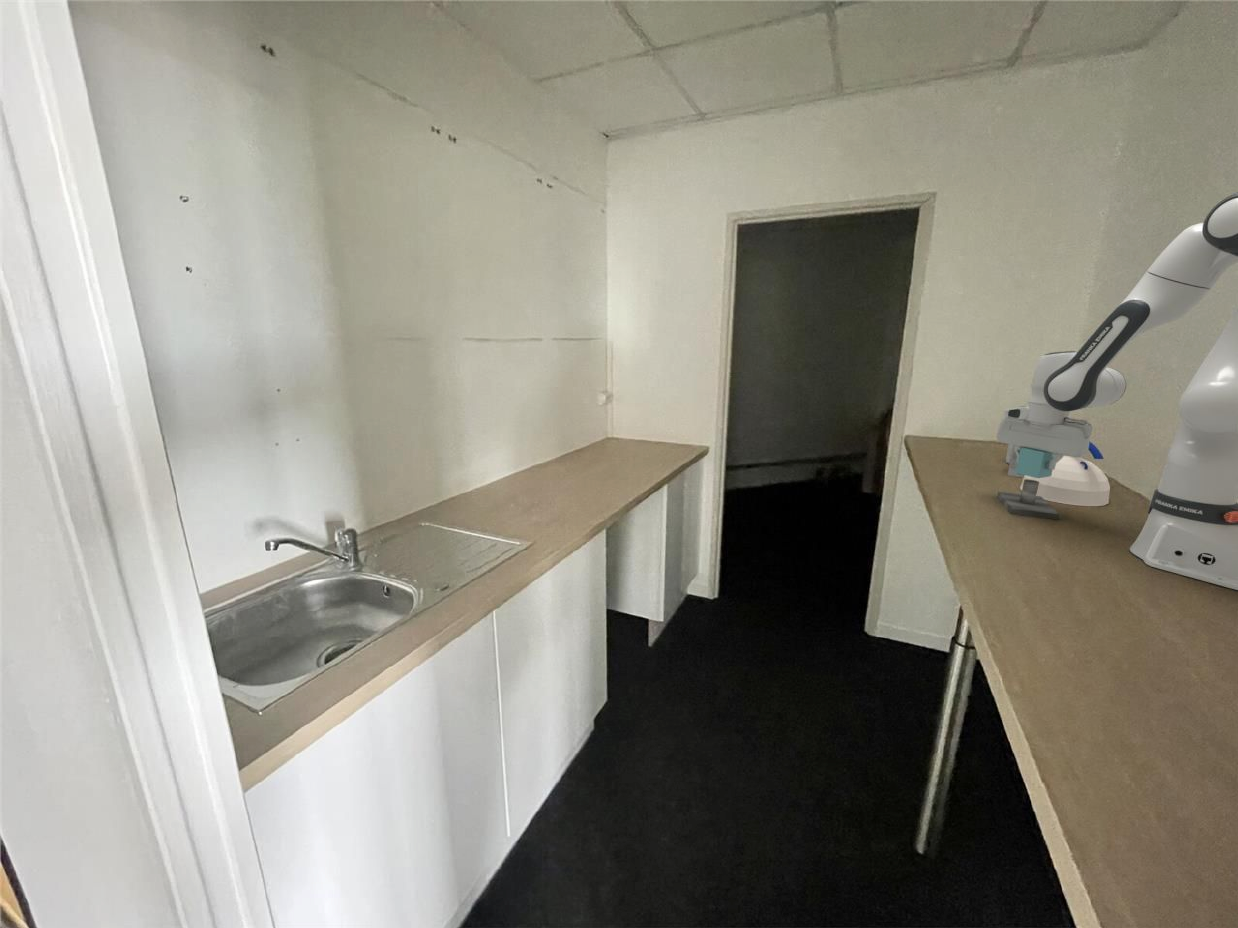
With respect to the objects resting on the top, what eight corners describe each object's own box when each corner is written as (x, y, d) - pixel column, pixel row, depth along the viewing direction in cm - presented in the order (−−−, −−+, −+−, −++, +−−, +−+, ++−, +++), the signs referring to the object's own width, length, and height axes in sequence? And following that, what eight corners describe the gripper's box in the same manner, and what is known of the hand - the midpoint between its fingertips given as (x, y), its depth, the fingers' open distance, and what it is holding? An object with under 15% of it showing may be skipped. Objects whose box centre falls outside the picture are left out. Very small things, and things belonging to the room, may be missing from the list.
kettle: (1073, 486, 162) (1087, 429, 157) (1129, 508, 142) (1147, 444, 138) (1003, 483, 164) (1015, 427, 159) (1049, 505, 144) (1064, 442, 139)
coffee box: (1007, 469, 180) (1017, 423, 176) (1031, 472, 176) (1041, 426, 172) (1006, 475, 173) (1016, 427, 169) (1031, 478, 169) (1041, 430, 165)
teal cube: (1051, 476, 138) (1057, 450, 137) (1037, 478, 136) (1043, 452, 135) (1028, 470, 143) (1033, 446, 142) (1015, 472, 141) (1020, 447, 140)
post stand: (997, 496, 151) (1002, 471, 149) (1039, 501, 147) (1045, 475, 145) (1010, 513, 137) (1016, 486, 135) (1058, 519, 133) (1064, 491, 131)
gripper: (1101, 420, 128) (1087, 474, 131) (1013, 408, 146) (1003, 456, 149) (1086, 422, 125) (1072, 477, 129) (998, 409, 143) (988, 458, 147)
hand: (1034, 465), depth 139 cm, fingers closed on teal cube, 6 cm apart
